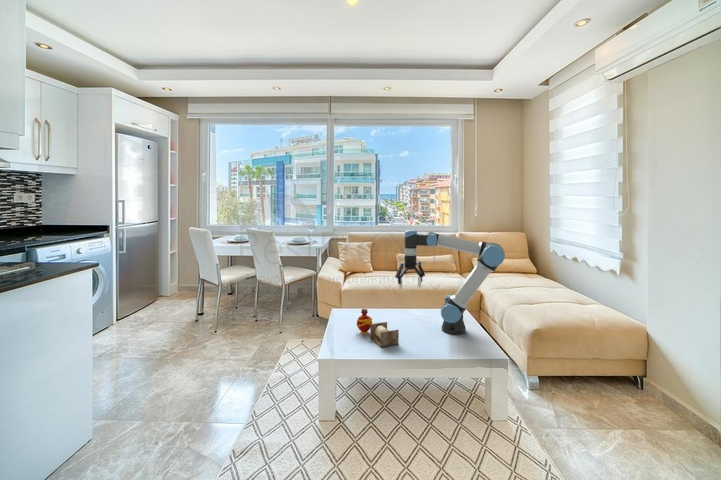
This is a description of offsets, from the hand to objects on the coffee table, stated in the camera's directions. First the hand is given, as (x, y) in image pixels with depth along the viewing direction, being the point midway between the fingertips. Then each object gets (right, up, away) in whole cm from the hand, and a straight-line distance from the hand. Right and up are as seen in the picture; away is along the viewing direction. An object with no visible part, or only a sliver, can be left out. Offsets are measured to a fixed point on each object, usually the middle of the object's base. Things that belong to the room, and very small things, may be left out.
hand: (410, 288), depth 219 cm
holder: (-17, -30, -13) cm, 37 cm away
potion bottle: (-29, -29, +2) cm, 41 cm away
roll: (-18, -29, -13) cm, 37 cm away
